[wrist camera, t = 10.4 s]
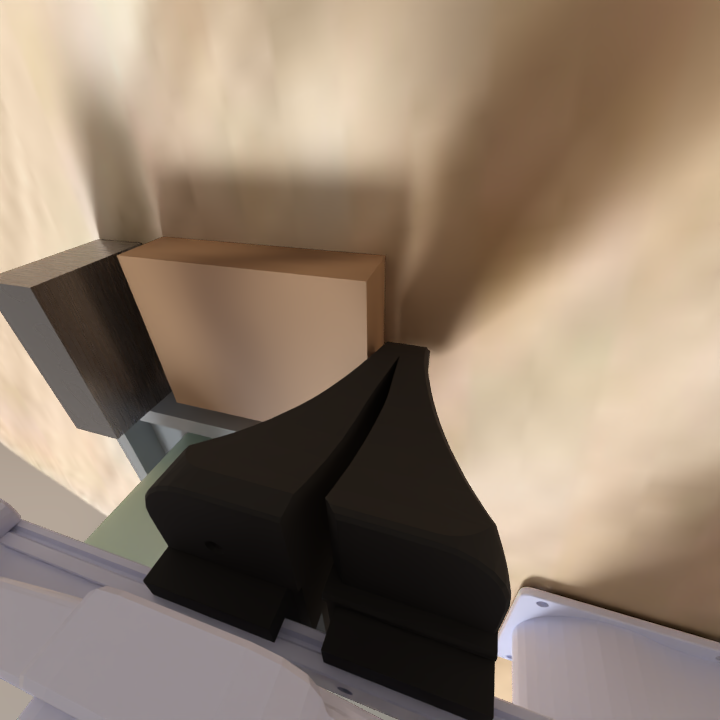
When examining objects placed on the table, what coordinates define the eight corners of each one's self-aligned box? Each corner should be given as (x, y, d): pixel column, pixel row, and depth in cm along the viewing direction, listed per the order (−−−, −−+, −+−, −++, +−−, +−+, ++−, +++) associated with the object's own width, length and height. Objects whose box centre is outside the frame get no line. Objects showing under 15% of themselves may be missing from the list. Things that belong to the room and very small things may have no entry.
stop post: (140, 243, 13) (30, 287, 10) (189, 375, 17) (117, 439, 14) (98, 239, 14) (-20, 280, 11) (153, 368, 17) (76, 428, 14)
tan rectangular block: (389, 250, 11) (366, 281, 9) (385, 400, 15) (368, 445, 13) (171, 233, 13) (116, 255, 11) (213, 368, 17) (176, 402, 15)
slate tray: (275, 406, 16) (253, 435, 15) (298, 516, 21) (283, 546, 19) (123, 374, 18) (92, 397, 17) (176, 481, 23) (155, 505, 22)
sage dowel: (250, 485, 20) (164, 618, 15) (195, 472, 21) (97, 592, 16) (232, 438, 18) (124, 573, 13) (172, 426, 19) (51, 547, 14)
